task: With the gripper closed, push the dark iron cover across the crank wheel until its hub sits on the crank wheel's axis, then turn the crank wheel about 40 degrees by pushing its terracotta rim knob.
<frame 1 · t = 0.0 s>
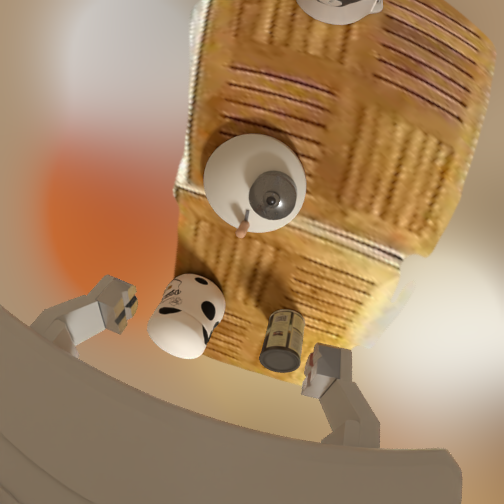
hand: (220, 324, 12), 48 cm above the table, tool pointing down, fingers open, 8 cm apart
iron cover: (274, 192, 56), point 3 cm above the table, touching crank wheel
crank wheel: (251, 188, 55), point 4 cm above the table, hinge at 0.0°, touching iron cover
coffee can: (287, 321, 78), on the table
milk container: (199, 292, 80), on the table
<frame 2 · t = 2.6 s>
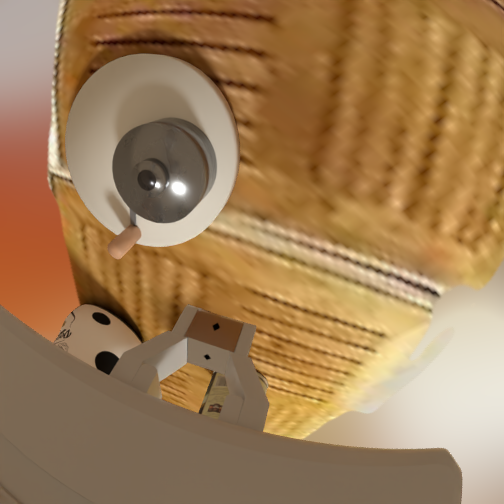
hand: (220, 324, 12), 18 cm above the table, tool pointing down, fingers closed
iron cover: (172, 163, 25), point 3 cm above the table, touching crank wheel
crank wheel: (127, 159, 25), point 4 cm above the table, hinge at 0.0°, touching iron cover
coffee can: (241, 379, 48), on the table
milk container: (114, 329, 49), on the table
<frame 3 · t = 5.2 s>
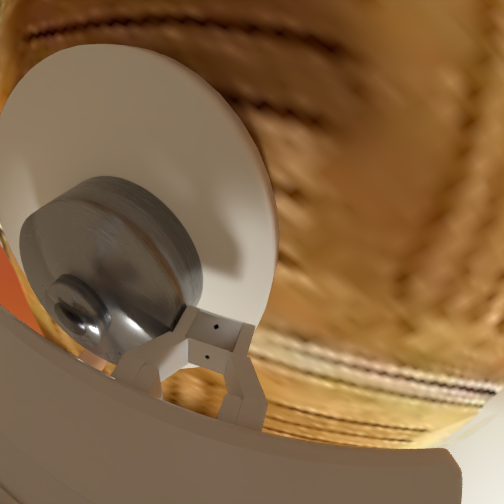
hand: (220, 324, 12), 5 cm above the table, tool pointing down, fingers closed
iron cover: (122, 259, 14), point 3 cm above the table, touching gripper
crank wheel: (71, 253, 13), point 4 cm above the table, hinge at 0.0°
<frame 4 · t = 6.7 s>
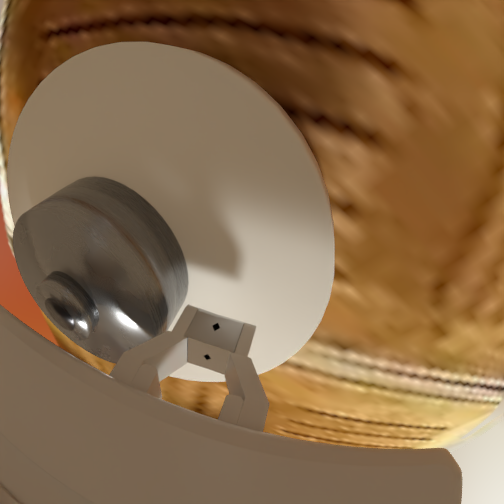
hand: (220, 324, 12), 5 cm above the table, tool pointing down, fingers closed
iron cover: (112, 257, 14), point 3 cm above the table, touching crank wheel
crank wheel: (108, 270, 13), point 4 cm above the table, hinge at 0.0°, touching iron cover
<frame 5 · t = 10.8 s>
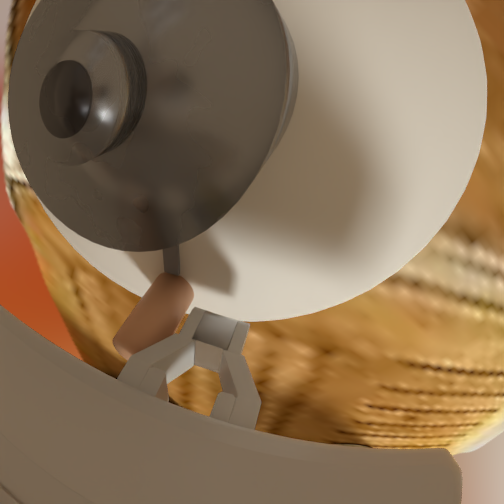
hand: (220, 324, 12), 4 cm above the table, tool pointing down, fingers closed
iron cover: (162, 83, 8), point 3 cm above the table, touching crank wheel
crank wheel: (159, 84, 7), point 4 cm above the table, hinge at -2.4°, touching gripper, iron cover
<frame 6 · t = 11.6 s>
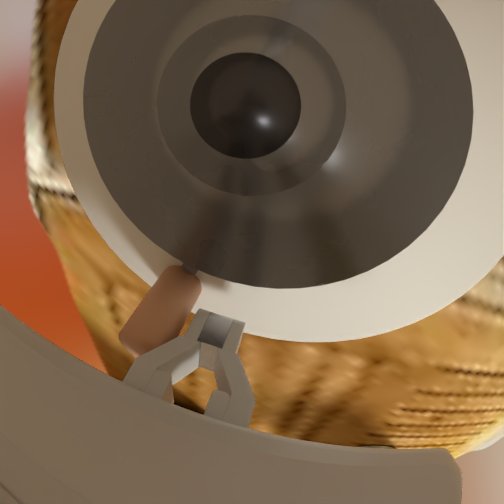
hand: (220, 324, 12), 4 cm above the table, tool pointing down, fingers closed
iron cover: (279, 97, 8), point 3 cm above the table, touching crank wheel
crank wheel: (289, 105, 7), point 4 cm above the table, hinge at -25.8°, touching gripper, iron cover
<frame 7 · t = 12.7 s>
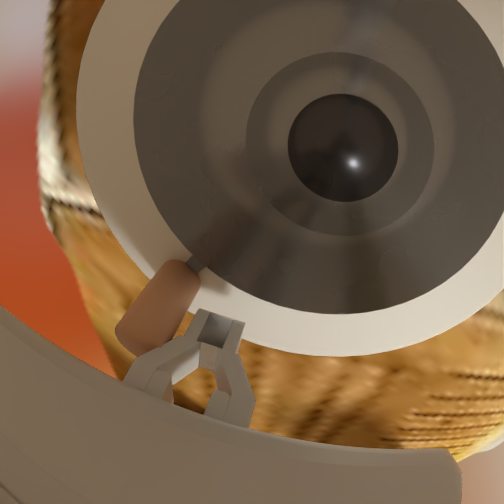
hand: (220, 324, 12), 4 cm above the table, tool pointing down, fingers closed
iron cover: (330, 121, 8), point 3 cm above the table, touching crank wheel
crank wheel: (344, 136, 7), point 4 cm above the table, hinge at -38.3°, touching gripper, iron cover
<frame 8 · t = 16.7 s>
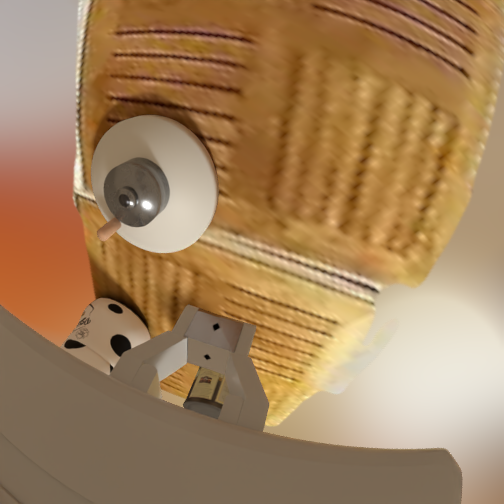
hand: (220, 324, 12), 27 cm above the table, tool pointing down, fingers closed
iron cover: (142, 187, 37), point 3 cm above the table, touching crank wheel
crank wheel: (140, 192, 37), point 4 cm above the table, hinge at -38.4°, touching iron cover
coffee can: (227, 359, 60), on the table
milk container: (124, 318, 61), on the table
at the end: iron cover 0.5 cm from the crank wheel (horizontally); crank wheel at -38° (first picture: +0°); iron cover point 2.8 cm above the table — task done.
